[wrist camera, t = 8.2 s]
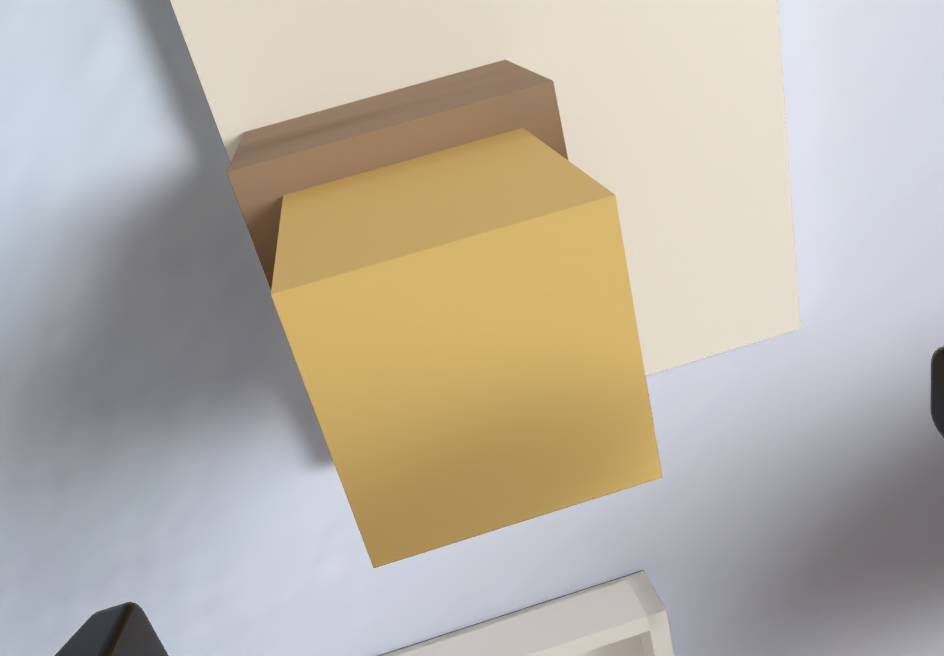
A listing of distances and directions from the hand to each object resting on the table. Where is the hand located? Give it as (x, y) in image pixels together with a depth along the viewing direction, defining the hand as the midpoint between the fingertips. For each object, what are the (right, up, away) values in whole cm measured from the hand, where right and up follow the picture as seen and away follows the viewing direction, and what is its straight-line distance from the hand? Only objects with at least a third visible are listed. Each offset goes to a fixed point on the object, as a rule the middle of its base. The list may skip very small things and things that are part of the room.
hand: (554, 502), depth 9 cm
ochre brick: (-2, +3, +7) cm, 8 cm away
